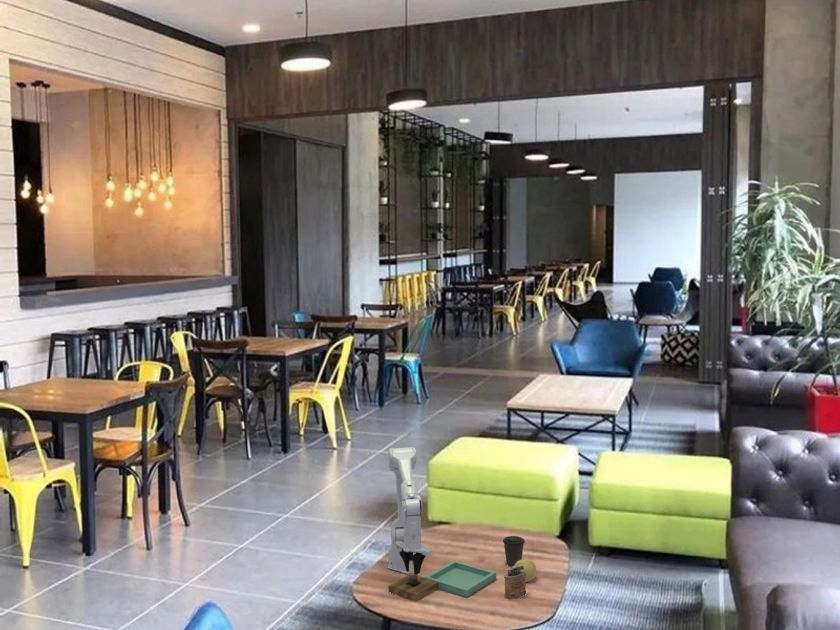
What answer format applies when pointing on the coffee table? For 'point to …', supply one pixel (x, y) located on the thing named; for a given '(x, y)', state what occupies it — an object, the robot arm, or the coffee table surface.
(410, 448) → the robot arm
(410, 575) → the pin
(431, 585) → the pin block
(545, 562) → the coffee table surface
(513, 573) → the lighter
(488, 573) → the tray
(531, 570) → the apple
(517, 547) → the coffee cup
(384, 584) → the coffee table surface
